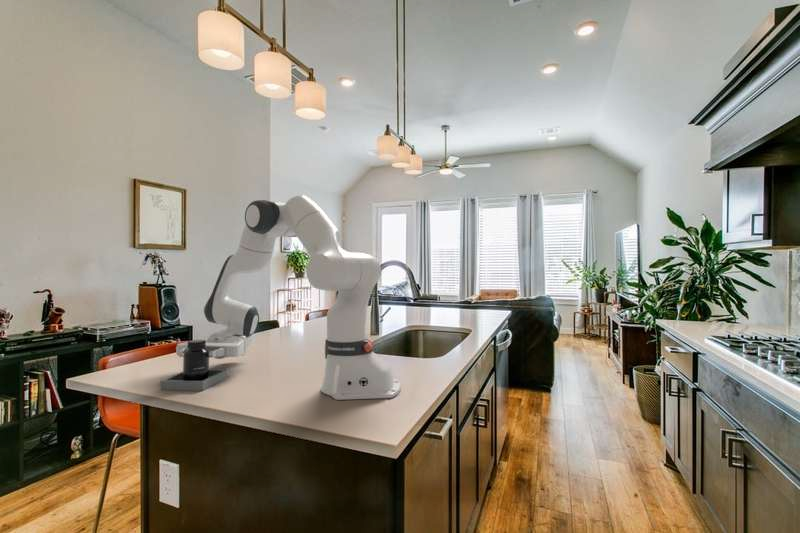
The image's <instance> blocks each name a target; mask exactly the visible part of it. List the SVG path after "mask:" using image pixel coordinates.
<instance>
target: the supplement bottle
mask: <svg viewBox="0 0 800 533" xmlns="http://www.w3.org/2000/svg"><path fill="white" fill-rule="evenodd" d="M206 341H207V340H205V339H192V340H187V342H188V346H187V348H188V350H187V351H185V353H184V355H183V359H182V361H183V363H182V372H183V381H203V380H205V379H207V378H209V369H210V357H209V351H208V350H207V349H205V347H206Z"/></svg>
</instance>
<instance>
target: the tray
mask: <svg viewBox="0 0 800 533" xmlns="http://www.w3.org/2000/svg"><path fill="white" fill-rule="evenodd" d="M227 378H228V369H219V368H218V369H214V368H211V369H210V368H209V378H207V379H205V380H203V381H183V371H180V372H178V373H176V374H173V375H171V376H169V377H166V378H164V379H162V380H160V390H164V391H190V392H191V391H195V392H196V391H197V392H203V391H206V390H207V389H210V388H211V387H213V386H215V385H217V384H219V383H220V382H222V381H224V380H226V379H227Z"/></svg>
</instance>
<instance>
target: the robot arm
mask: <svg viewBox="0 0 800 533" xmlns="http://www.w3.org/2000/svg"><path fill="white" fill-rule="evenodd" d="M244 222H245V225H244V228H243V231H242V233H241V237H240V241H239V244H238V245H239V246H238V248H237V250H236V252H235V253H234V254H231V255H229V256H228V257H227V258H226V259H225V261H224V263H223V265H222V266H221V270H220V272H219V274H218V277H217V280H216V282H215V285H214V287H213V288H212V289H213V290H212V292H211V295H210V296H209V298H208V299H207V301H206V303H205V306H204V308H203V313H204V317H205V318H206V320H207V321H208V322H209V323H213V324H216V325H221V326H224V327H227V328H226V329H224V330H220V331H218V332H215V333H213V334H211V335H209V337H208V338H207V340H205V341H206V347H205V349H207V350H208V351H209V358H213V359H216V360H222V359H225V358H237V357H242V356H246V355H247V347H249V346H250V345H251V344H252V343H253V340H254V338H255V333H256V331H257V329H258V326H259V323H260V315H259V310H258V309H257V307H256V306H253V305H251V304H248V303H245V302H241V301H239V300H235V299H232V298H231V297H230V296H229V292H230V290H231V287H232V285H233V283H234V280H235V277H236V276H238V275H239V274H251V273H252V274H254V273H259V272H261V271H263V270H264V269H266V268H267V267H268V266H269V265H270V263H271V261H272V258H273V254H274V250H275V245H276V244H275V243H276V240H277V239H278V237H284V238H285V237H286V238H288V237H289V238H290V237H291V238H297V239H298V241H300V243H301V244H302V246H303V247H304V249H305V250H306V252H307V254H308V256H309V260H308V263H307V265H306V271H305V272H306V278H307V280H308V283H309V284H310V286H312V287H313V288H315V289H317V290H320V291H326V292H338V293H337V296H336V298H335V301H334V303H333V304H332V305H331V306H330V307H329V308H328V311H327V313H326V339H325V342H324V358H325V368H324V375H323V381H322V385H321V387H320V391H321V392H322V393H323V394H324V395H327V396H330V397H332V398H333V399H334V400H336V401H337V400H339V401H342V400H364V399H365V400H367V399H371V400H372V399H390V398H391V399H392V398H394V397H396V396H397V395H398V394H399V393H400V392H401V388H402V387H401V382H400V381H399V380H398V379H396V378H394V375H393V371H392V368H391V365H390V363H389V362H387V361H385V359H383V357H382V358H381V357H380V356H379V355H377V354H376V353H375V352H374V343H373V342H374V341H373V339H369V338H367V313H368V312H367V311H368V306H369V302H370V298H371V295H372V292H373V290H374V288H375V286H376V284H377V283H378V282H379V281H380V279H381V276H382V267H381V262H380V261H379V260H378V259H377V258H376V257H375V256H373V255H371V254H368V253H364V252H357V251H347V250H345V249H343V247H341V245H340V239H341V232H340V231H339V229H338V228H337V227H336V225H335V224H334V223H333V221H331V219H330V218H329V217H328V215H327V214H326V213H325V212H324V210H323V209H322V208H321V207H320V206H319V205H318V204H317V203H316V202H315V201H314V200H313V199H311V198H310V197H308V196H307V195H303V194H302V195H301V194H299V195H294V196H293V197H290V198H289V199H288V200H287V201H286V202H282V201H275V200H267V199H257V200H254V201H251V202H250V203H249V204H248V205H247V207H246V209H245V213H244ZM187 346H188V341H184V342H179V343H177V344H176V347H175V349H176V355H177V356H178V357H183V355H184V353H185V351H187V350H188V348H187ZM399 391H400V392H399Z"/></svg>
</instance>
